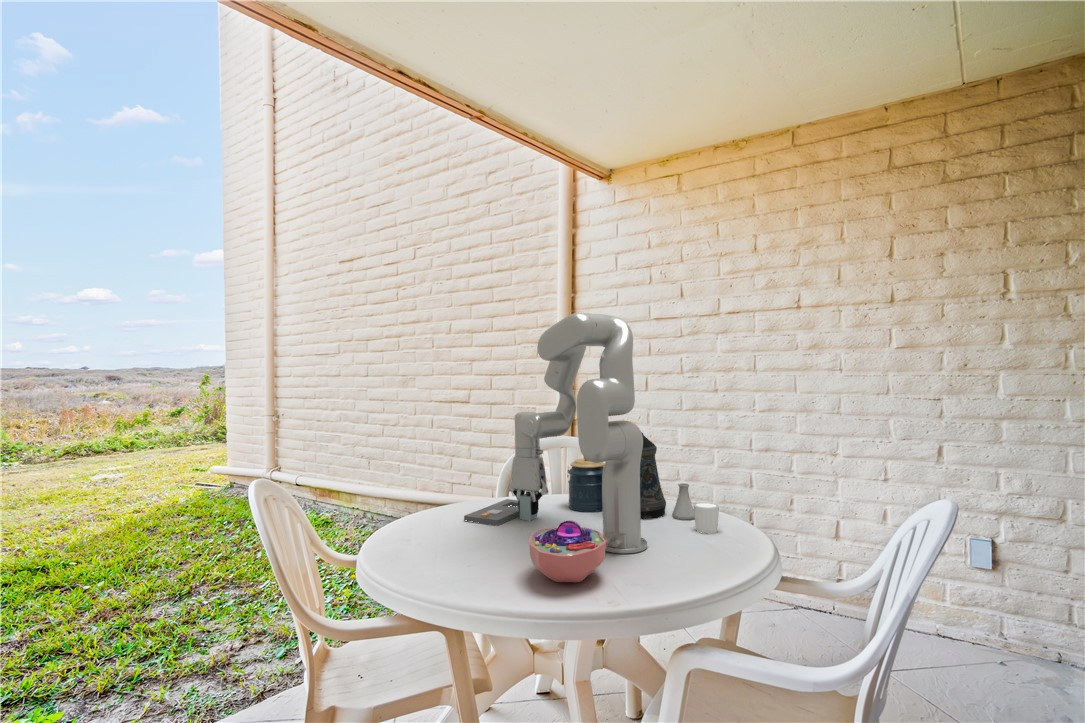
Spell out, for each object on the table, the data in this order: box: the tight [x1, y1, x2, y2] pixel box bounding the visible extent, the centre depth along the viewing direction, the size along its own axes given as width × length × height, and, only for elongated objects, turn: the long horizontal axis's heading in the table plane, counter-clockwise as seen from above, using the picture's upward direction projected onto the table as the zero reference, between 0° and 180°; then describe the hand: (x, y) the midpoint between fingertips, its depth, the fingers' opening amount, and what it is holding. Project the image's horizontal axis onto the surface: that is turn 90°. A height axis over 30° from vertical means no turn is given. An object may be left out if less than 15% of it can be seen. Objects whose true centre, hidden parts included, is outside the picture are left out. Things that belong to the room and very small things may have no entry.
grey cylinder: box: [692, 502, 720, 534], centre depth 152 cm, size 7×7×7 cm
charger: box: [519, 491, 538, 522], centre depth 168 cm, size 4×4×8 cm
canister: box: [567, 456, 605, 513], centre depth 180 cm, size 13×13×18 cm
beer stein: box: [640, 431, 667, 520], centre depth 171 cm, size 16×19×25 cm
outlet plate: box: [463, 498, 520, 527], centre depth 174 cm, size 24×12×2 cm, turn 151°
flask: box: [671, 482, 695, 521], centre depth 166 cm, size 7×7×10 cm
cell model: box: [528, 520, 606, 583], centre depth 119 cm, size 17×20×11 cm
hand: (528, 512), depth 168 cm, fingers closed on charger, 3 cm apart
